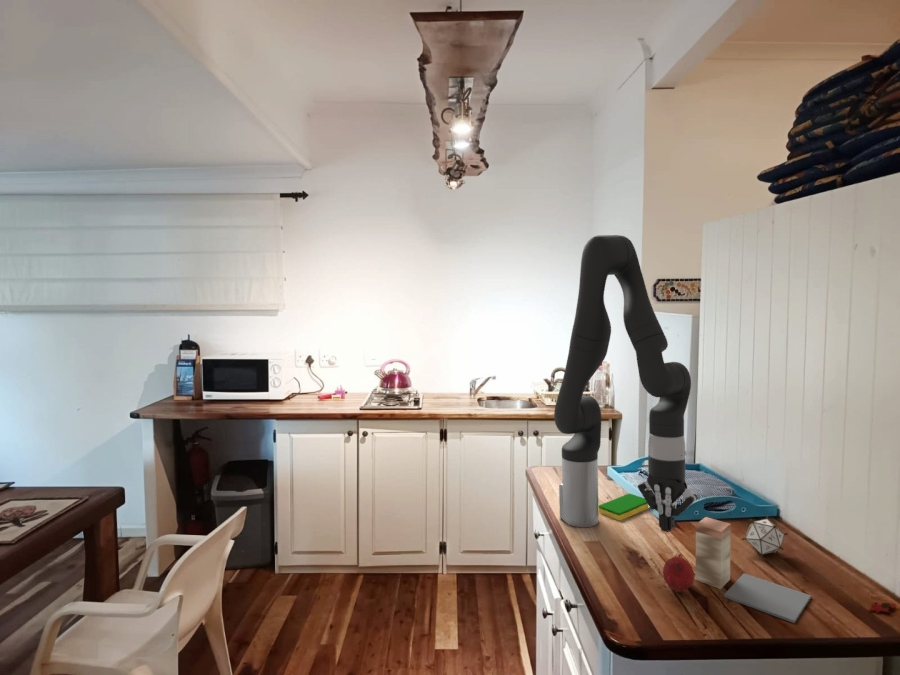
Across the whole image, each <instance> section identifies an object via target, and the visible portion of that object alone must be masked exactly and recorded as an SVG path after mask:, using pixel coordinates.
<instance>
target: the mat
mask: <svg viewBox="0 0 900 675" xmlns="http://www.w3.org/2000/svg"><path fill="white" fill-rule="evenodd" d="M723 598H725V599H728V600H731V601H733V602H736V603H739V604H741V605H745V606H747V607H749V608H752V609H755V610H757V611H760V612H762V613H765V614H768V615H771V616H773V617H776V618H779V619H781V620H784V621H786V622H789V623H792V624H795V623H796V622H797V620H798V619H799V617H800V616H801V614H802V613H803V611H804V610H805V608H806V606H807V605H808V603H809V601H810V600H811V599H812V595H811V594H807V593H804V592H802V591H798V590H796V589H792V588H789V587H786V586H784V585H781V584H778V583H776V582H775V583H774V582H772V581H769V580H765V579H763V578H759V577H757V576H755V575H750V574H748V573H745V572H744V573H742V575H740V577H739V578H738V579H737V580H736V581H735V582H734V583H733V584H732V585H731V587H730V588H729V589H728V590H727V591H726V592H725V593H724V594H723Z"/></svg>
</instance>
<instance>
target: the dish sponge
mask: <svg viewBox="0 0 900 675" xmlns="http://www.w3.org/2000/svg"><path fill="white" fill-rule="evenodd" d="M648 509H649V508H648V503H647V501H646V500H645V498H644V497H642V496H639V495H636V494H633V493H627V494H623V495H622V496H619V497H617V498H613V499H612V500H610V501H606V502H604V503H602V504H598V513H599V512H600V513H599V514H601V513H602V514H601V515H604V516H607V517H608V518H610V519H613V520H616V521H622V520H625V519H627V518H630V517H631V516H634V515H636V514H639V513H642V512H643V511H645V510H648Z"/></svg>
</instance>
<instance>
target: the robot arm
mask: <svg viewBox="0 0 900 675" xmlns="http://www.w3.org/2000/svg"><path fill="white" fill-rule="evenodd" d="M579 272H580V273H579V274H580V275H579V286H578V287H579V288H578V295H577V303H576V309H575V316H574V320H573V325H572V329H571V336H570V340H569V349H568V355H567V359H566V364H565V369H564V374H563V378H562V381H561V385H560V387H559V388H560V389H559V392H558V395H557V398H556V401H555V406H554V412H553V413H554V416H553V418H554V424H555V427H556V428H557V429H558V431H559V432H560V433H562V434H566V435H572V434H573V436H572V437H571V438H570V439H569V440H567V441H566V442H565V443H564V444H563V445H561V446H562V447H561V477H562V478H561V480H562V482H561V483H559V485H558V487H559V488H558V490H559V492H558V497H559V498H558V499H559V502H558V503H559V505H558V506H559V519H560V518H562V519H563V520H564V521H565V522H566V523H565V522H564V521H563V522H564V523H565V524H567V523H568V524H567V525H569V526H571V525H572V527H575V526H577V527H578V528H589V527H591V528H592V527H594V526H596V525H597V524H598V523H599V514H600V513H599V461H598V460H599V456H598V454H599V451H600V448H601V437H602V412H601V408H600V404H599V402H598V401H597V399H595V398H594V397H593V396H591V395H584V392H585V388H586V387H587V385H588V383H589V382H590V380H591V378H592V377H593V376H594V374H596V372H597V371H598V369H599V368H600V367H601V366H602V364H603V362H604V360H605V359H606V356H607V354H608V350H609V346H610V340H611V335H612V325H611V324H612V323H611V321H610V318H609V317H610V316H609V315H608V311H607V308H606V305H605V290H606V289H605V288H606V284H607V279H608V276H613V275H614V277H615V278H616V279H617V281H618V283H619V285H620V288H621V290H622V293H623V294H622V295H623V311H622V312H623V315H622V316H623V323H624V328H625V331H626V334H627V335H628V338H629V339H630V342H631V345H632V346H633V349H634V351H635V354H636V355H635V356H636V362H637V369H638V375H639V380H640V383H641V385H642V387H643V388H644V390H645V391H646V392H647V393H648V394H649V395H650V396H651V397H652V396H653V397H654V398H659V400H658V402H657V404H656V405H655V406H652V408H651V409H650V410H649V414H648V416H649V417H648V420H649V421H648V424H649V425H648V426H649V427H648V430H649V433H648V440H647V441H648V442H647V443H648V444H647V448H648V450H647V454H648V455H647V459H648V460H647V461H648V462H647V463H648V464H647V466H648V467H647V470H648V476H647V478H646V481H643V482H641V483H640V484H637V489H638V490H639V492H640V493H641V495H642V496H643V497H642V498H645V500H646V501H647V503H648V505H649V506H650V508H649V509H651V510H653V511H656V512H657V513H658V526H659V528H660V530H661V532H666V533H670V532H671V531H672V530H673V529H674V528H675V517H679V516H680V515H681V514H683V513H684V512H685V511H687V509H688V508H690V507H691V506H692V505H693V504H694V502H696V501H697V500H698V496H697V494H696V493H692V492H691V491H689V489H688V484H687V483H686V455H687V452H686V441H685V412H686V409H687V406H688V403H689V398H690V394H691V388H692V379H691V378H692V377H691V374H690V371H689V370H688V368H687V367H686V366H685V365H684V364H683V363H681V362H678V361H670V362H669V361H668V362H665V361H664V357H663V352H665V350H667V348H668V345H669V344H668V339H667V336H666V335H665V332H664V330H663V329H662V326H661V324H660V322H659V320H658V316H656V313H655V310H654V309H653V307H652V304H651V300H650V297H649V294H648V291H647V287H646V283H645V280H644V277H643V273H642V269H641V265H640V260H639V257H638V254H637V251H636V248H635V246H634V244H633V243H632V241H631V240H630V238H628V237H626V236H624V235H619V234H613V235H611V234H600V235H593V236H591V237H590V238H589V239H588V240H587V241H586V243H585V245H584V246H583V250H582V253H581V260H580V271H579ZM682 495H683V496H682ZM681 497H682V500H683V502H682V503H681V504H679V506H677V504H678V499H679V498H681ZM562 519H561V520H562ZM577 527H576V528H577Z"/></svg>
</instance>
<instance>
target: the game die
mask: <svg viewBox="0 0 900 675" xmlns="http://www.w3.org/2000/svg"><path fill="white" fill-rule="evenodd" d="M749 521H750V522H751V523H750V524H749V523H746V527H748V528H747V531H746V534H745V537H741V539H740V540H742V541H746V542H747V543H748V544H750V546H752V548H754V549H755V550H756V551H757V553H758V554H760V556H759V557H760V559H763V558H764V555H768V554H771V553H776V554H777V555H779V554H780V552H779V550H781V551H785V548H784V547H782V545H783V541H784V539H785V536H788V535H789V532H785V533H784V531H782V530H781V529H779V528H778V525H777V524H774V523H773V522H772V521H771V520H770V519H769V515H766V516H765V518H764V519H759V520H753V519H751V518H750V519H749Z"/></svg>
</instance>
